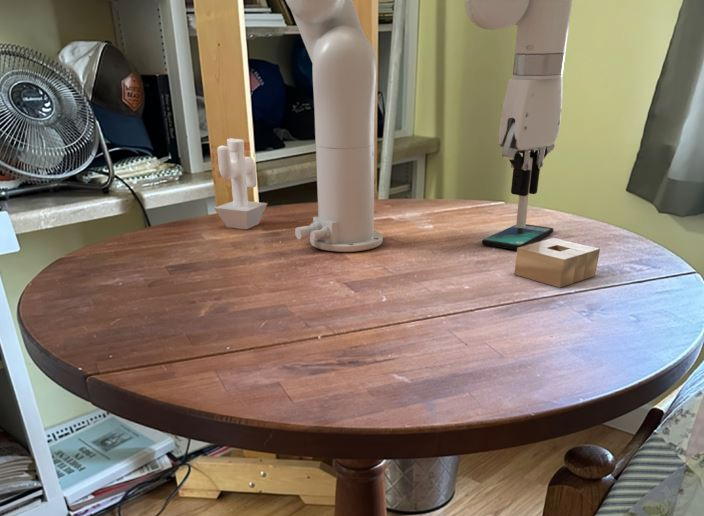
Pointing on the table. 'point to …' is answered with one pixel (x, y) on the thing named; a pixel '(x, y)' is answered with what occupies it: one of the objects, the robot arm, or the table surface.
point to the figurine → (238, 186)
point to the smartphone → (517, 236)
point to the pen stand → (556, 262)
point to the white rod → (523, 206)
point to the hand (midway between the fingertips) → (523, 193)
